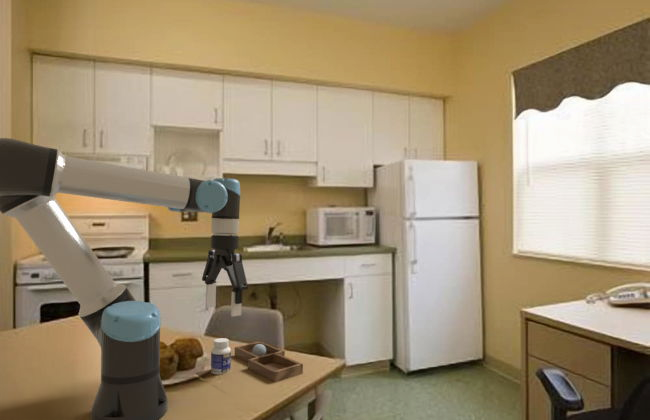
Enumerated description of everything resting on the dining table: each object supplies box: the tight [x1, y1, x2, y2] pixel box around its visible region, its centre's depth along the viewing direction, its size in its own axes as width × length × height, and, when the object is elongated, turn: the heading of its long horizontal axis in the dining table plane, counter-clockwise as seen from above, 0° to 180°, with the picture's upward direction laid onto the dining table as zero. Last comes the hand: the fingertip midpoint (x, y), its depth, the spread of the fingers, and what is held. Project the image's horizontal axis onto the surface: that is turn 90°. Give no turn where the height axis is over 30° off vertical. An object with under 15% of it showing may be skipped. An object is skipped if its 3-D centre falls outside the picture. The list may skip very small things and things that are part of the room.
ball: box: [253, 344, 266, 357], centre depth 130 cm, size 4×4×4 cm
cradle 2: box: [247, 353, 304, 383], centre depth 120 cm, size 9×13×3 cm
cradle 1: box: [234, 341, 286, 365], centre depth 130 cm, size 9×13×3 cm
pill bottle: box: [210, 337, 232, 375], centre depth 119 cm, size 5×5×9 cm
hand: (222, 311), depth 120 cm, fingers open, 13 cm apart
